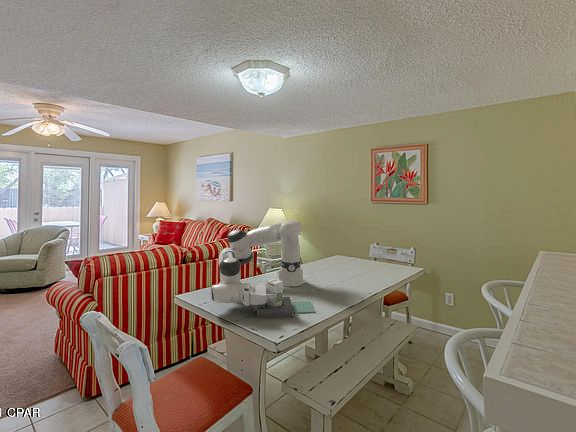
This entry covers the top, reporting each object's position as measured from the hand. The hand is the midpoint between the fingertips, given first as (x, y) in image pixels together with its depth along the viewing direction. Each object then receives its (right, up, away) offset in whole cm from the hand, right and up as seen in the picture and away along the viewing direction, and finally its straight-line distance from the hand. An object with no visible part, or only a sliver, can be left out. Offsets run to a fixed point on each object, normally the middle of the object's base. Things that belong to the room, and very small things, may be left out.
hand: (276, 292), depth 143 cm
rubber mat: (+13, -9, +6) cm, 16 cm away
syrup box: (-1, -9, +1) cm, 9 cm away
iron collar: (-1, -9, +1) cm, 9 cm away
